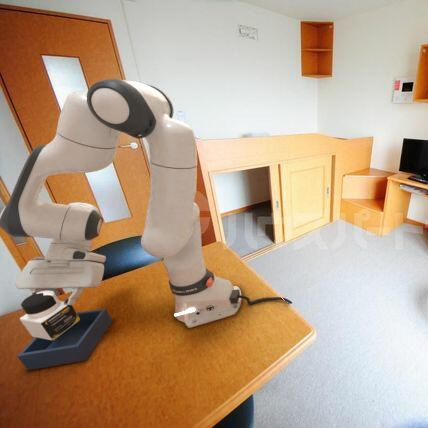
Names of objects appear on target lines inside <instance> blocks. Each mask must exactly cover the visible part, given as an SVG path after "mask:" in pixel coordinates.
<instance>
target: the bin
mask: <svg viewBox="0 0 428 428" xmlns="http://www.w3.org/2000/svg"><path fill="white" fill-rule="evenodd" d="M76 313H77V315H78V317H79V318H80V320H79V321H78V322H77V323H75V324H74V325H73V326H71V327H70V328H69V329H67V330H66V331H65V332H64V333H62V334H61V335H60V336H58V337H57V338H56V339H54V340H47V339H42V338H37V337H33V339H32V340H31V341H30V342H29V343H28V344H27V345H26V346H25V347H24V348H23V349H22V350H21V351H20V352H19V353H18V354H17V356H16V357H17V359H18V360H19V361H20V362H21V363H22V364H23V366H24V367H25V368H26V370H27V371H32V370H38V369H43V368H44V369H45V368H50V367H54V366H55V367H56V366H61V365H66V364H67V365H68V364H73V363H79V362H83V361H84V362H85V361H87V360H88V358H90V356H91V354H92V353H93V351H94V350H95V348H96V347H97V345H98V344H99V342H100V341H101V340H102V338H103V336H104V335H105V333H106V332H107V330H108V329H109V327H110V326H111V324H112V323H113V319H112V317H111V316H110V314H109V312H108V310H107V308H99V309H91V310H85V311H78V312H77V311H76Z"/></svg>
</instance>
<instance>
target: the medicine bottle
mask: <svg viewBox="0 0 428 428" xmlns="http://www.w3.org/2000/svg"><path fill="white" fill-rule="evenodd" d="M64 302H65V300H60V299H59V298H58V296H57V295H56V293H55V291H54V290H51V289H44V290H43V291H41V292H38V293H35V294H33V295H31V296H30V295H28V296H27V297H25V298H24V299H23V300H22V302H21V303H20V307H21V308H22V309H23V311H24V312H25V314H24V315H22V316H21V317H19V320H20V322H21V323H22V325H23V326H24V328H25V329H26V331H28V333H29V334H30V336H31V337H32V338H35V337H37V338H42V339H47V340H54V339H56V338H57V337H58V336H60V335H61V334H62V333H64V332H65V331H66V330H67V329H69V328H70V327H71V326H73V325H74V324H75V323H77V322H78V321H79V320H80V318H79V317H78V315H77V313H76V312H77V311H76V310H75V308H74V305H64Z"/></svg>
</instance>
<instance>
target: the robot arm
mask: <svg viewBox="0 0 428 428" xmlns="http://www.w3.org/2000/svg"><path fill="white" fill-rule="evenodd" d="M174 113H175V112H174V105H173V103H172V100H171V99H170V98H169V96H168V95H167V93H165V92H164V91H162V90H160V89H159V88H158V87H156V86H153V85H150V84H145V83H142V82H139V81H135V80H131V79H130V80H129V79H118V78H106V79H101V80H98V81H96V82H94V83H93V84H92V85H91V86H90V87H89V88H88V90H77V91H76V90H75V91H72V92H70V93H69V94H68V95H67V97H66V99H65V100H64V103H63V106H62V108H61V110H60V115H59V117H58V122H57V125H56V132H55V136H54V138H53V139H52V140H51V141H50V142H49V143H47V144H39V145H37V146H35V148H33V150H31V152H30V153H29V155H28V156H27V159H26V161H25V163H24V165H23V167H22V169H21V171H20V173H19V175H18V178H17V181H16V183H15V185H14V188H13V190H12V193H11V195H10V197H9V199H8V201H7V203H6V205H5V206H4V207H3V209H2V210H1V212H0V229H1V230H2V231H4V232H5V233H6V234H8V235H10V236H11V237H13V238H42V239H51V242H50V244H49V246H48V248H47V252H46V254H45V256H35V257H34V258H32V259H30V260H28V262H27V263H26V265H25V266H24V267H23V268H22V270H21V272H20V274H19V275H18V278H17V280H16V282H15V287H16V289H17V290H29V291H28V296H31V295H33V294H35V293H38V292H41V291H44V290H53V289H58V290H59V289H71V294H70V295H69V297H67V298H65V299H64V305H72V306H74V305H75V304H76V301H77V299H78V298H79V297H80V296H81V295H82V294H83V292H84V290H85V289H87V288H88V289H89V288H90V289H91V288H94V289H95V288H98V287H99V286H100V285H101V284H102V281H103V277H104V272H105V265H104V263H105V262H106V260H107V256H106V255H104V254H103V255H102V254H98V253H96V252H94V251H91V250H92V241H93V240H94V239H96V238H97V237H99V236H100V232H101V229H102V226H103V223H104V218H103V217H102V215H101V214H100V209H99V208H98V207H96V206H95V205H94V204H90V203H87V202H82V201H74V202H70V203H68V204H63V203H56V202H50V201H44V200H42V199H40V198H39V196H40V194H41V192H42V189H43V188H44V185H45V183H46V181H47V178H49V177H51V176H56V175H63V174H88V173H94V172H98V171H102V170H104V169H106V168H108V167H109V166H110V165H112V163H113V162H114V160H115V157H116V155H117V151H118V147H119V142H120V137H121V134H122V133H124V134H126V135H128V136H129V137H132V138H134V139H138V140H140V139H145V140H146V142H147V144H148V151H149V153H148V154H149V177H150V179H149V181H150V189H149V197H148V204H147V209H146V216H145V223H144V228H143V231H142V235H141V237H140V245H141V247H142V249H143V250H144V252H145V253H147V255H150V256H151V257H154V258H158V259H163V264H164V268H165V271H166V274H167V277H168V285H169V288H170V291H171V293H172V295H173V298H174V314H173V315H174V317H175V318H176V320H178V321H180V322H182V323H184V325H185V326H186V327H187V328H189V329H190V328H194V327H198V326H201V325H202V326H203V325H205V324H208V323H211V322H214V321H218V320H221V319H225V318H227V317H231V316H234V315H236V313H237V312H238V311H239V309H240V307H241V304H242V299H243V300H246V303H247V304H248V305H254V304H257V303H260V302H264V301H284V300H285V301H284V302H286V303H287V304H290V305H292V304H293V302H292V301H291V300H290V299H288V298H285V297H282V298H283V299H284V300H283V299H282V298H281V296H275V297H274V296H273V297H271V296H270V297H262V298H257V299H255V300H251V299H250V298H249V297H247V296H246V295H242V291H241V289H240V287H239V286H237V285H233V283H232V281H231V280H230V279H226V278H224V277H223V278H222V277H219V276H216V275H215V274H214V272H215V270H214V268H211V270H209V269H208V268H207V267H206V262H205V257H204V254H203V246H202V245H203V244H202V229H201V220H200V219H201V211H200V206H199V205H198V203H196V202H195V198H196V193H197V180H198V179H197V178H198V149H197V141H196V136H195V132H194V130H193V129H192V127H191V126H189V125H188V124H187V123H185V122H184V121H181V120H178V119H173V117H174Z"/></svg>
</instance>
